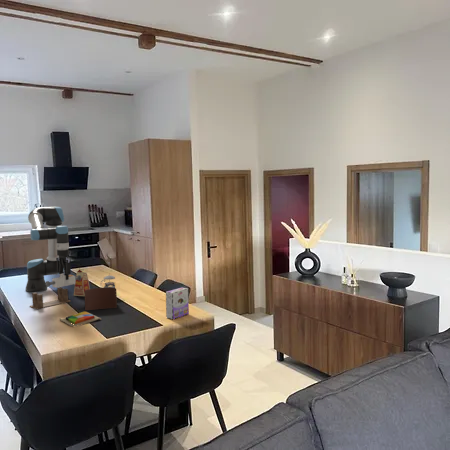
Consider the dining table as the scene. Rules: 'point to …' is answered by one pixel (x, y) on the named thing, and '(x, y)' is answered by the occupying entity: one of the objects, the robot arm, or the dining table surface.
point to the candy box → (177, 303)
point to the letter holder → (100, 298)
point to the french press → (110, 277)
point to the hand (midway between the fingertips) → (64, 283)
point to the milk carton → (81, 283)
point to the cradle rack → (39, 303)
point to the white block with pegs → (60, 281)
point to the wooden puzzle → (80, 319)
